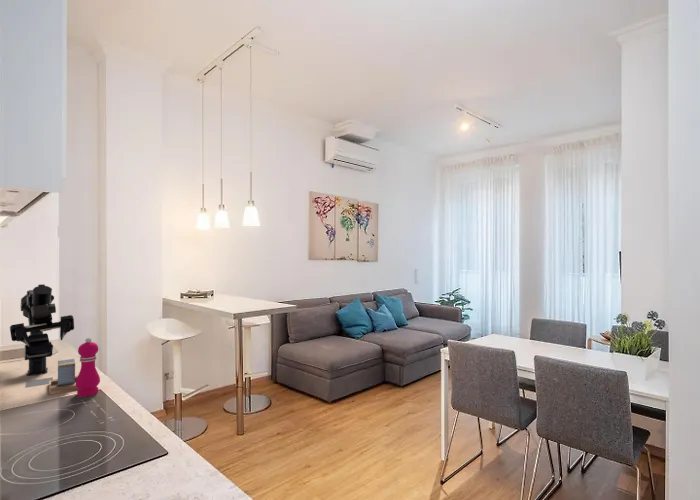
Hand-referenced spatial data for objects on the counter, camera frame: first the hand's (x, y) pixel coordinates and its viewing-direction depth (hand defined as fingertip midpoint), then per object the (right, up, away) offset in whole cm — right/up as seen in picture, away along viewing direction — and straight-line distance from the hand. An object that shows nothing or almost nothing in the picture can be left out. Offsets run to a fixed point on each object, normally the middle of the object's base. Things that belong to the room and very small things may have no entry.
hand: (45, 342), depth 142 cm
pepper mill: (+17, -18, -3) cm, 25 cm away
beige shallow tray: (+5, -17, +3) cm, 18 cm away
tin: (+5, -17, +3) cm, 18 cm away
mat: (-8, -17, +7) cm, 20 cm away
